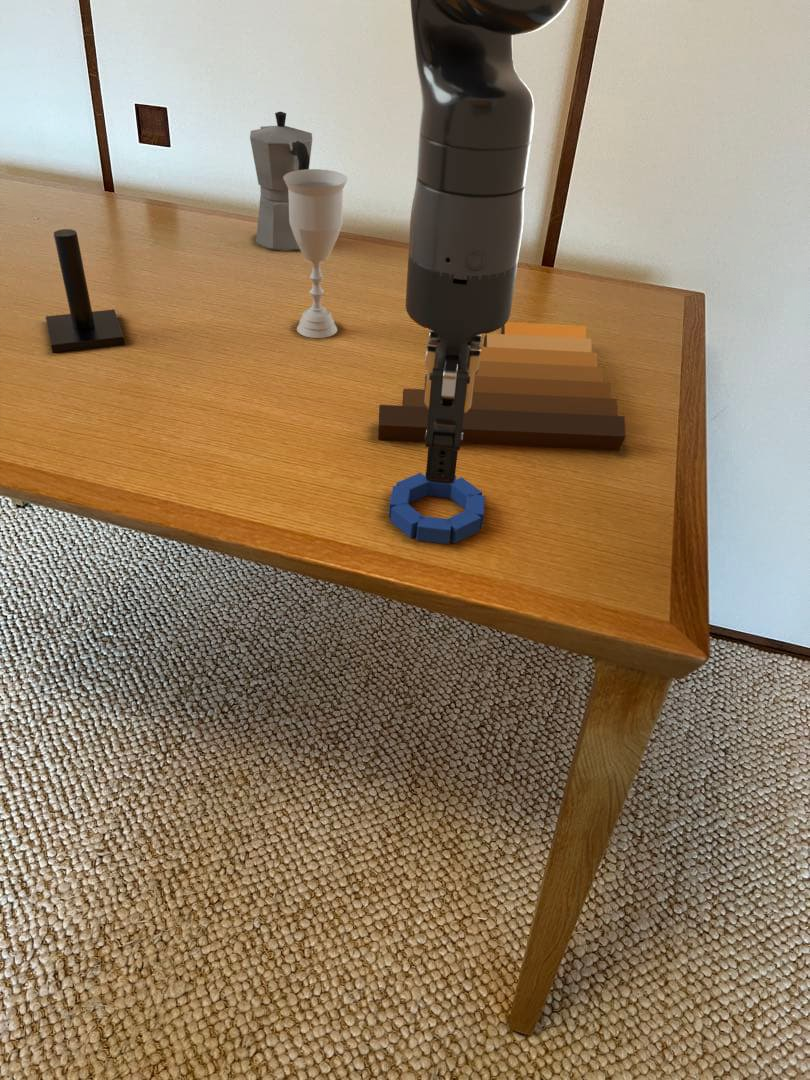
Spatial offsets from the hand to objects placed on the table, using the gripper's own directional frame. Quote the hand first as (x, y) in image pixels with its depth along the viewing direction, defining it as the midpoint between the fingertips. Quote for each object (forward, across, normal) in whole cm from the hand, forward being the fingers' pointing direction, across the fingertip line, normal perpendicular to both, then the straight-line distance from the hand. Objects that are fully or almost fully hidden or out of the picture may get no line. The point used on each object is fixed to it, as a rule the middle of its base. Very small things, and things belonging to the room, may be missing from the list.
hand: (443, 450), depth 66 cm
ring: (+9, -3, 0) cm, 10 cm away
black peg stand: (+9, -31, -44) cm, 55 cm away
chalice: (+9, -39, -18) cm, 44 cm away
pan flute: (+9, -28, +4) cm, 30 cm away
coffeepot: (+9, -67, -28) cm, 73 cm away
